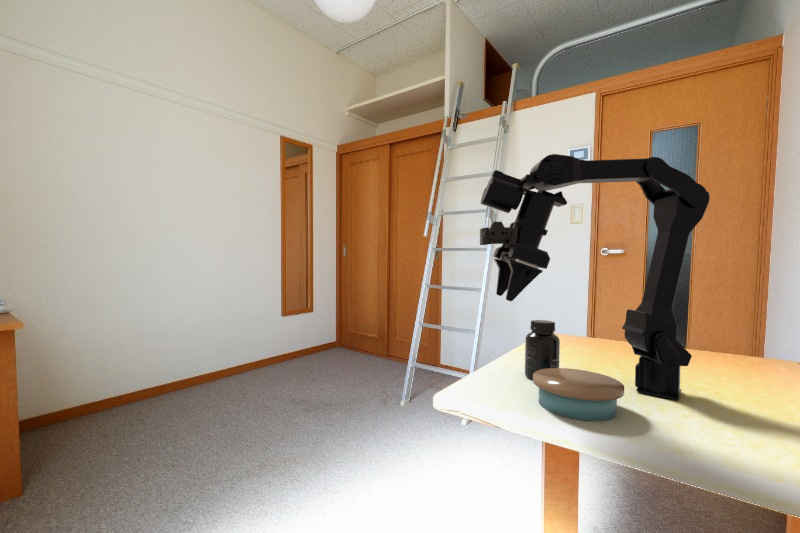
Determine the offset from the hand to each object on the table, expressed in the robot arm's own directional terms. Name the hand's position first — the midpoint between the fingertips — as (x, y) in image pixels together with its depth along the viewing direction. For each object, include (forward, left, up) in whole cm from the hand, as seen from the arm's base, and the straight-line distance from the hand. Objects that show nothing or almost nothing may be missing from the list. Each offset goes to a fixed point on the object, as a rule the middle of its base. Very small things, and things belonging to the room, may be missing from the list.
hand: (503, 297), depth 73 cm
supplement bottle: (-4, -12, -18) cm, 22 cm away
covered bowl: (-14, 0, -18) cm, 22 cm away
